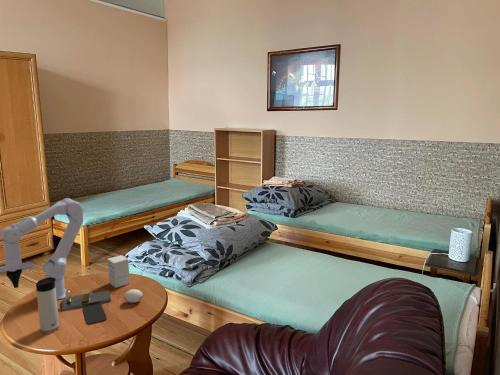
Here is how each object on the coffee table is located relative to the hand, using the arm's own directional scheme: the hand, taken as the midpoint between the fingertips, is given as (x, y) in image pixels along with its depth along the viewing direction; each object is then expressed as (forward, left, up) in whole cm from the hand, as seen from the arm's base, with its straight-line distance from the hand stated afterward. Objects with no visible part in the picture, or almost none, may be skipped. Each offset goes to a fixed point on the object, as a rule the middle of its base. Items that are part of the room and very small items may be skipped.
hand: (16, 286), depth 157 cm
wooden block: (+6, +26, -8) cm, 27 cm away
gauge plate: (+6, +26, -9) cm, 28 cm away
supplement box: (-7, +41, -10) cm, 43 cm away
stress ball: (+14, +45, -10) cm, 48 cm away
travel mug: (+23, +13, -10) cm, 28 cm away
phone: (+18, +28, -10) cm, 35 cm away
